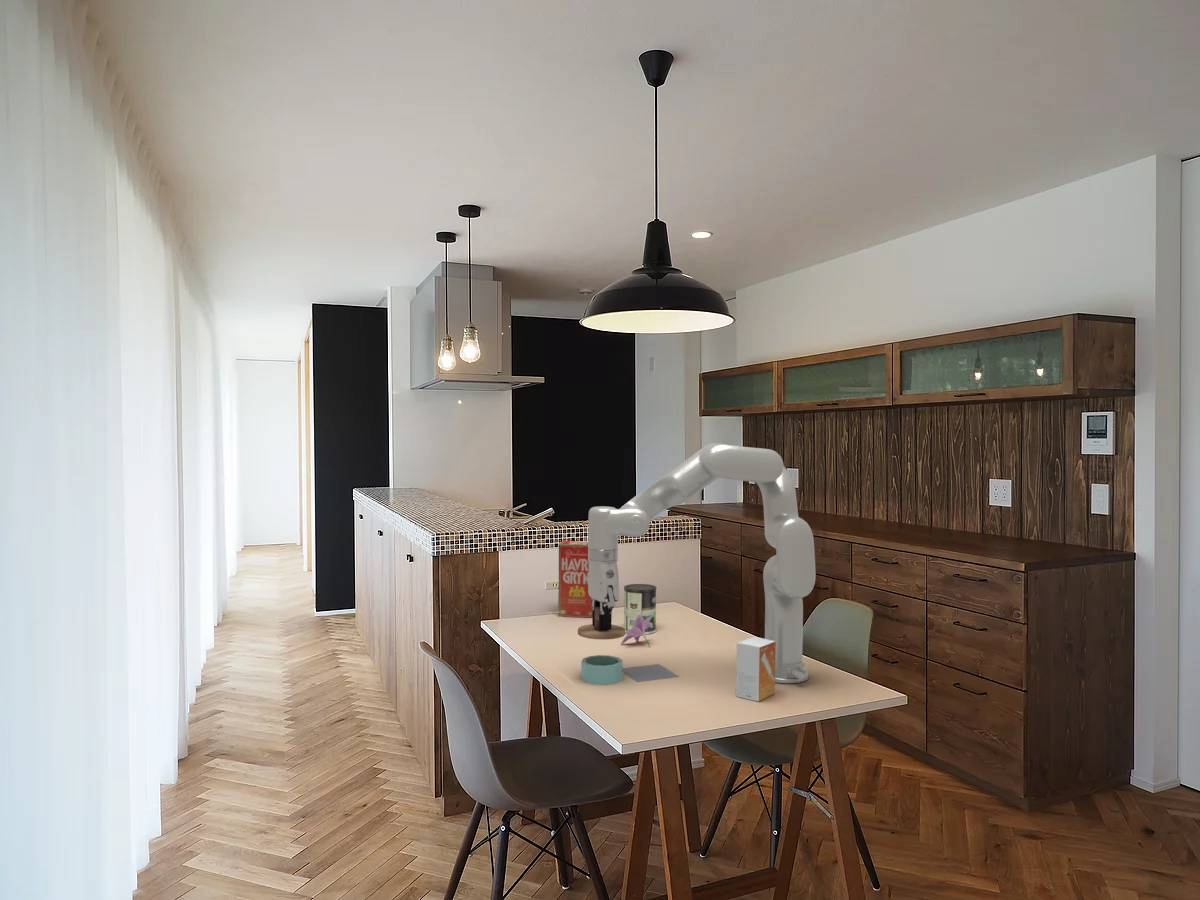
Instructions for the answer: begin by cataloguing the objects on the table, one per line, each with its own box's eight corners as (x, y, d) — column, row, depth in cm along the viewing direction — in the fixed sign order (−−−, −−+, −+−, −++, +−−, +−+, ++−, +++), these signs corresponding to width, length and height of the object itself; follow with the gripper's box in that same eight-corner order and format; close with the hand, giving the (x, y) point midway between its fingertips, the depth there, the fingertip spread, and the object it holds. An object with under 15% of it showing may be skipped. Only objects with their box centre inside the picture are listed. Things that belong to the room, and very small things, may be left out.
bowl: (628, 684, 200) (628, 664, 200) (590, 688, 196) (591, 668, 196) (612, 672, 209) (612, 653, 209) (576, 676, 206) (576, 657, 205)
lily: (658, 643, 243) (645, 614, 245) (671, 637, 232) (657, 607, 235) (624, 659, 239) (611, 629, 241) (635, 654, 228) (621, 622, 230)
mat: (679, 678, 205) (679, 676, 204) (637, 684, 200) (637, 681, 200) (658, 666, 216) (658, 663, 216) (617, 670, 211) (617, 668, 211)
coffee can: (655, 627, 259) (655, 583, 259) (656, 635, 249) (657, 589, 249) (623, 626, 260) (623, 583, 259) (623, 634, 249) (624, 589, 249)
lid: (632, 637, 199) (633, 611, 199) (588, 641, 195) (588, 614, 195) (613, 626, 210) (614, 601, 210) (571, 629, 206) (571, 604, 206)
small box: (759, 702, 187) (759, 647, 187) (735, 696, 191) (736, 642, 191) (775, 694, 193) (776, 640, 193) (752, 688, 197) (753, 636, 197)
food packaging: (557, 616, 273) (557, 543, 272) (562, 610, 282) (562, 540, 281) (596, 618, 271) (596, 544, 270) (599, 612, 280) (600, 541, 280)
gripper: (630, 559, 196) (628, 634, 196) (603, 550, 211) (602, 619, 212) (601, 561, 193) (600, 637, 193) (577, 551, 208) (576, 621, 209)
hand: (601, 627), depth 202 cm, fingers closed on lid, 3 cm apart
